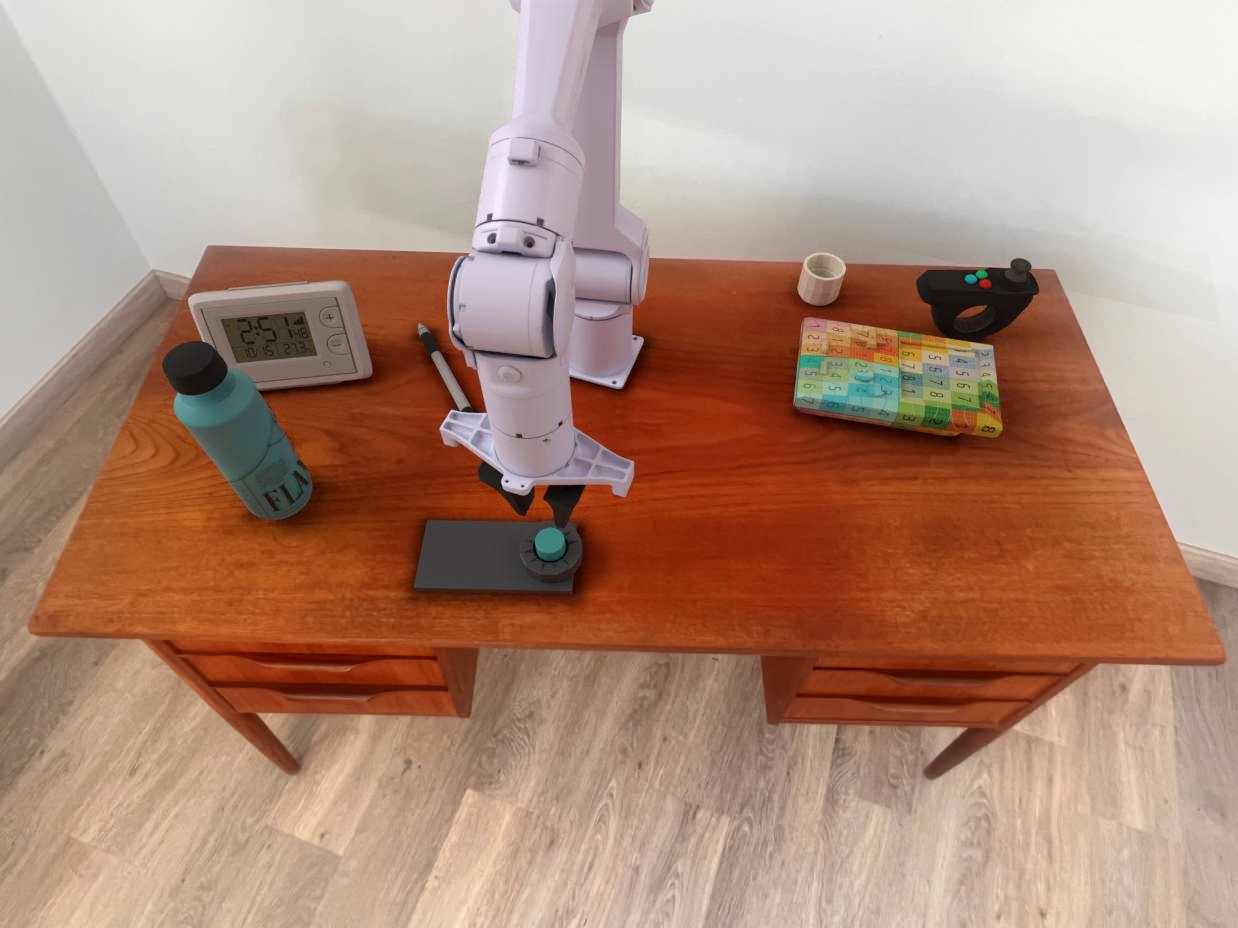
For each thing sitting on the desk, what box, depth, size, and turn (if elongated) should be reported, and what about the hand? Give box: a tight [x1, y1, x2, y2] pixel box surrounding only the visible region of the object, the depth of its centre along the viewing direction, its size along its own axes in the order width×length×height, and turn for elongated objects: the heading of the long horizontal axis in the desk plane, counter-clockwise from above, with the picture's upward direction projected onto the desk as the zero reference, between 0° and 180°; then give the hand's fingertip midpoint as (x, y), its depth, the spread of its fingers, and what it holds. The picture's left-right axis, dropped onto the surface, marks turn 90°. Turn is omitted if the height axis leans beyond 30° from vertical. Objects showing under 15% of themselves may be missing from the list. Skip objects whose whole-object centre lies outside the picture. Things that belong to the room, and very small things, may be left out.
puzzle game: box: [792, 317, 1004, 439], centre depth 77 cm, size 12×5×20 cm
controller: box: [915, 257, 1040, 341], centre depth 81 cm, size 4×12×10 cm, turn 88°
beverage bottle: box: [161, 340, 314, 521], centre depth 63 cm, size 6×7×20 cm
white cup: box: [796, 252, 847, 307], centre depth 87 cm, size 5×5×4 cm
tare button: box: [535, 528, 566, 561], centre depth 65 cm, size 3×3×2 cm
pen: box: [417, 322, 475, 413], centre depth 81 cm, size 1×16×1 cm, turn 29°
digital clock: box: [187, 279, 374, 392], centre depth 77 cm, size 16×9×11 cm, turn 86°
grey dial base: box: [413, 519, 584, 596], centre depth 67 cm, size 15×7×2 cm, turn 89°
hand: (545, 511), depth 61 cm, fingers open, 3 cm apart
